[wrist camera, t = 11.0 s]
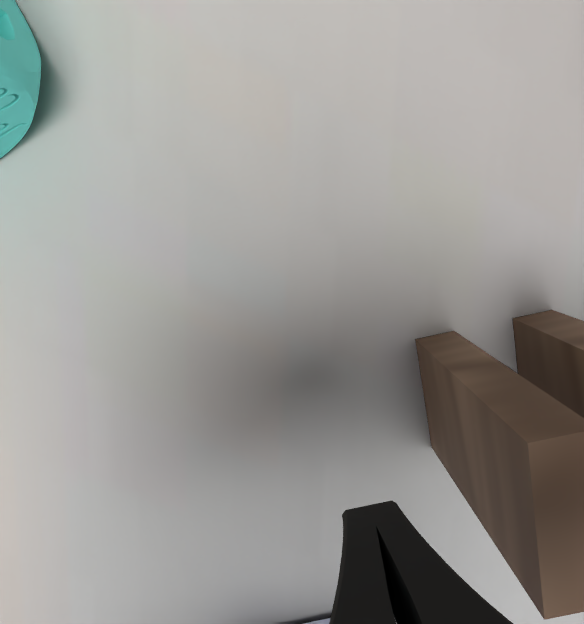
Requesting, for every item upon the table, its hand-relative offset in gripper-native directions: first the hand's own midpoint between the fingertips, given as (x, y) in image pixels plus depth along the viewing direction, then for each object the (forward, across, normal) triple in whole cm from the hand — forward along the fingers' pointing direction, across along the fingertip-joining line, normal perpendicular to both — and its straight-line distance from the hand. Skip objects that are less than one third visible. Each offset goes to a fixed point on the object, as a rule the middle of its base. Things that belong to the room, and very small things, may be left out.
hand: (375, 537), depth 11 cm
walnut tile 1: (+7, -4, 0) cm, 8 cm away
